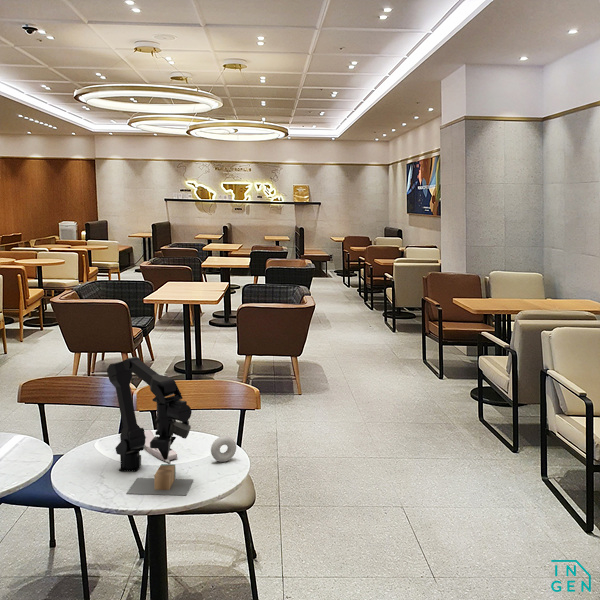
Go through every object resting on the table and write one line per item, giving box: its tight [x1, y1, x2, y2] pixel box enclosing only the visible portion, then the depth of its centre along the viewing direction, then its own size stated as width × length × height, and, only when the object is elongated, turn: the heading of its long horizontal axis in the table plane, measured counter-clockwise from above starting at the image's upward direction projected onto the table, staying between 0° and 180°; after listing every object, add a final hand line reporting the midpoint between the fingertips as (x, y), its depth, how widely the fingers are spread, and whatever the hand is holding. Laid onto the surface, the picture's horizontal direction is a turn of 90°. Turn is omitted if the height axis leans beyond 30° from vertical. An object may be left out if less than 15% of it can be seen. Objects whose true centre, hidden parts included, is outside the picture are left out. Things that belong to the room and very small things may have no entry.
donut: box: [210, 435, 237, 463], centre depth 251 cm, size 10×4×10 cm, turn 117°
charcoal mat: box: [126, 477, 194, 497], centre depth 228 cm, size 20×13×1 cm, turn 88°
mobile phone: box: [144, 429, 178, 464], centre depth 259 cm, size 6×6×25 cm
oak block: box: [153, 463, 177, 490], centre depth 229 cm, size 5×5×10 cm
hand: (165, 459), depth 230 cm, fingers closed
